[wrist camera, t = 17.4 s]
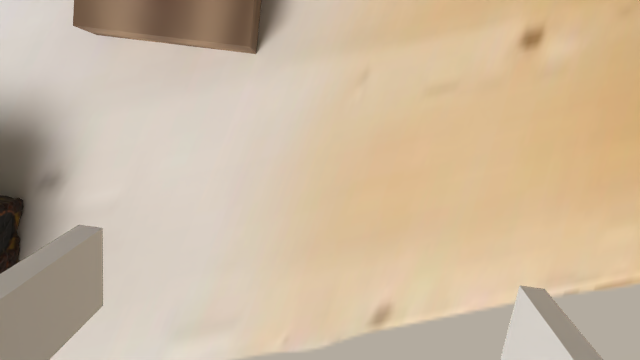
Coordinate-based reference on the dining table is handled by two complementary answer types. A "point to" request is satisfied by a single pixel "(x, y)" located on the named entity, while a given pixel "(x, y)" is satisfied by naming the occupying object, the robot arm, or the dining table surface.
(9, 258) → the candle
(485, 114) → the dining table surface
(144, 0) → the walnut stand
